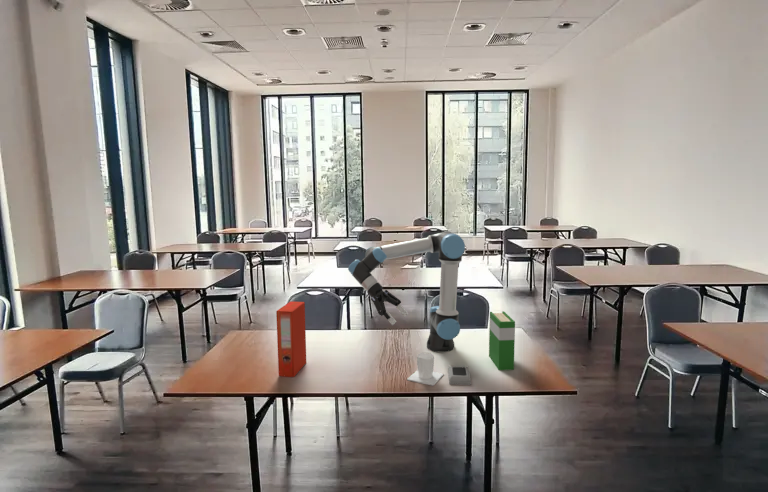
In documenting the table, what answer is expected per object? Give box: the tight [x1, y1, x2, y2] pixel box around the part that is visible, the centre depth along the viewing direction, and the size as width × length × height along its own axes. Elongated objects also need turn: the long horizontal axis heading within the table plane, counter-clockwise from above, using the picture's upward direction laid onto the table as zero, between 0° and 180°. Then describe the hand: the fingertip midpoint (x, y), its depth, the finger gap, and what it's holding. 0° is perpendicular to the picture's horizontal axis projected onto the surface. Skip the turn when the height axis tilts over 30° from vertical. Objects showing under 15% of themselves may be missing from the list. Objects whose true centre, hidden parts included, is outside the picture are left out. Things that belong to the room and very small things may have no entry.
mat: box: [406, 369, 444, 387], centre depth 213 cm, size 13×13×1 cm
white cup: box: [416, 352, 435, 379], centre depth 213 cm, size 8×8×10 cm
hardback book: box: [488, 310, 516, 371], centre depth 228 cm, size 18×7×24 cm, turn 2°
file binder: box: [275, 301, 307, 378], centre depth 223 cm, size 8×17×32 cm, turn 170°
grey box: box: [447, 365, 472, 386], centre depth 213 cm, size 10×4×15 cm
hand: (400, 319), depth 221 cm, fingers open, 13 cm apart
